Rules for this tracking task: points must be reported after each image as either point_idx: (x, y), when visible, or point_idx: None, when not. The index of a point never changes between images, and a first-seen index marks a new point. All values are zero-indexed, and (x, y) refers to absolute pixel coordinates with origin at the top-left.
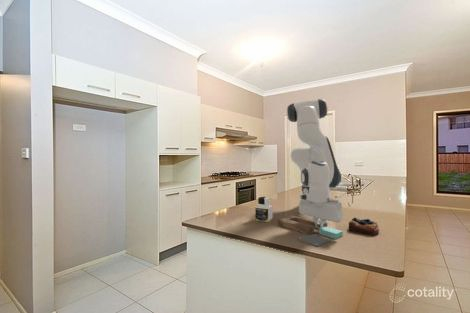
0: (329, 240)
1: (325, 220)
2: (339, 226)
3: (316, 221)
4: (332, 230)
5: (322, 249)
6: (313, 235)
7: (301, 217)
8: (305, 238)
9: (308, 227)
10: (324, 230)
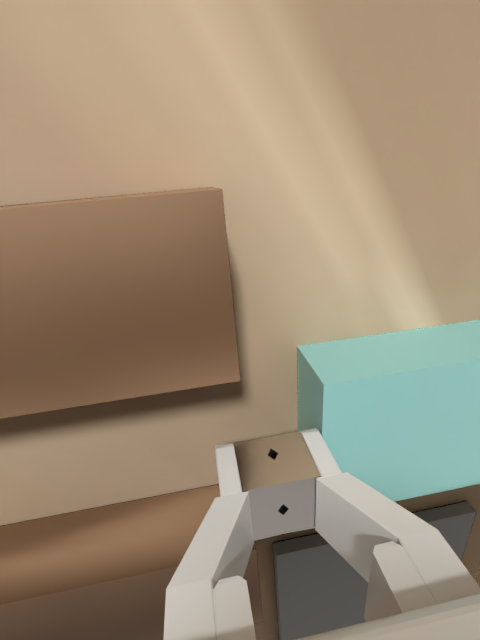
0: (470, 517)
1: (443, 550)
2: None
3: (238, 571)
4: (475, 427)
5: None
6: (319, 559)
7: None
8: (318, 629)
9: None
10: (397, 500)
